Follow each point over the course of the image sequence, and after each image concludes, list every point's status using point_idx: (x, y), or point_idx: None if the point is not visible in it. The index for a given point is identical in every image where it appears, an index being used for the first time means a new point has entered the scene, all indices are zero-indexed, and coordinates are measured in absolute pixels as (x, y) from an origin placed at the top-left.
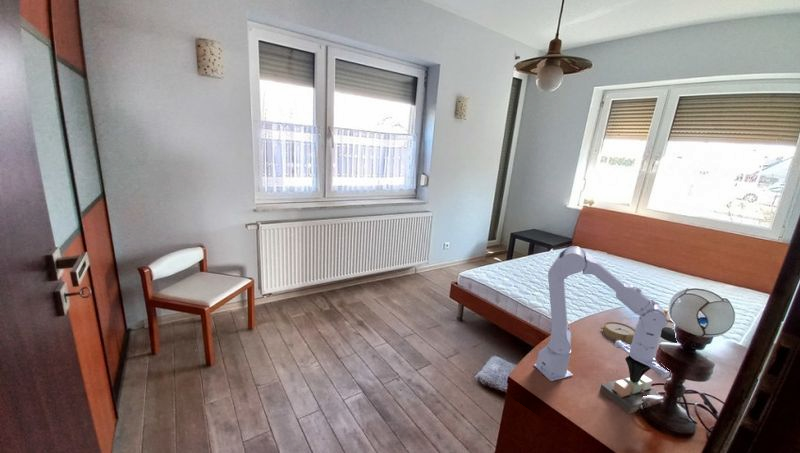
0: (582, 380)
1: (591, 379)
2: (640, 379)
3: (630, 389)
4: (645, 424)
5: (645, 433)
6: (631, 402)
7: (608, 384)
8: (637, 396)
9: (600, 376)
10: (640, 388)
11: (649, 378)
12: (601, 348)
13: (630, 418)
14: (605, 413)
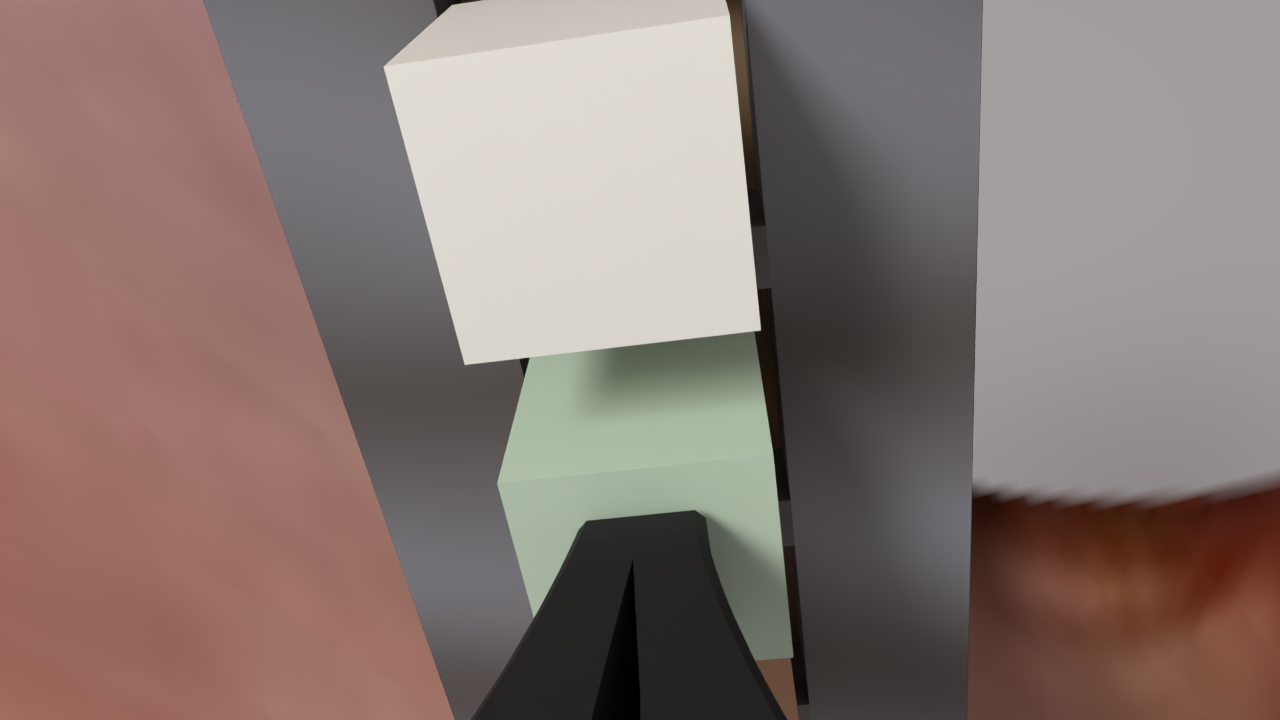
0: (280, 716)
1: (247, 599)
2: (605, 337)
3: (794, 696)
4: (1147, 537)
5: (1235, 645)
6: (905, 637)
7: (482, 677)
8: (824, 441)
9: (153, 422)
10: (762, 390)
11: (619, 29)
12: None
13: (998, 634)
14: None
